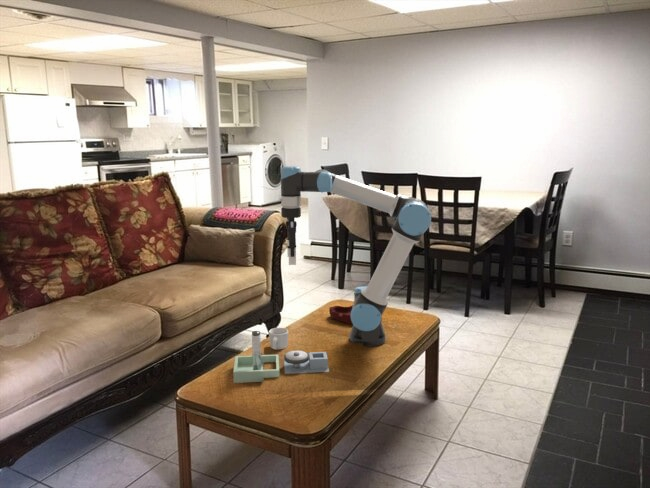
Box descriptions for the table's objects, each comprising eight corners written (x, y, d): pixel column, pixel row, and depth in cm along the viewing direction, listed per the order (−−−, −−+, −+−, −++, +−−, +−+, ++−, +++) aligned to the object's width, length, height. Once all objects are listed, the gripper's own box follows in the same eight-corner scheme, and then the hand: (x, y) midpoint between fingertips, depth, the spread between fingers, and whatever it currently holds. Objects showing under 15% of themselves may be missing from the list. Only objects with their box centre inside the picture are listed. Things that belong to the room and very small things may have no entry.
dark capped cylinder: (261, 368, 198) (260, 330, 195) (261, 372, 195) (260, 333, 192) (252, 369, 197) (251, 330, 194) (252, 372, 194) (251, 334, 192)
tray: (278, 364, 204) (278, 354, 203) (279, 380, 190) (279, 370, 190) (235, 366, 202) (235, 356, 202) (233, 382, 189) (233, 372, 188)
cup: (283, 357, 211) (283, 337, 209) (264, 355, 212) (263, 336, 211) (291, 346, 221) (290, 328, 219) (272, 345, 223) (272, 326, 221)
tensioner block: (326, 362, 205) (326, 346, 204) (329, 375, 195) (329, 358, 193) (283, 364, 204) (283, 348, 202) (284, 377, 193) (284, 359, 192)
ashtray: (334, 327, 244) (334, 317, 243) (327, 315, 259) (327, 305, 258) (372, 324, 247) (373, 314, 246) (363, 313, 263) (363, 303, 262)
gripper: (280, 203, 219) (281, 253, 224) (282, 211, 195) (282, 268, 199) (298, 202, 220) (299, 253, 224) (302, 211, 196) (303, 267, 200)
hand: (291, 260), depth 212 cm, fingers open, 13 cm apart
